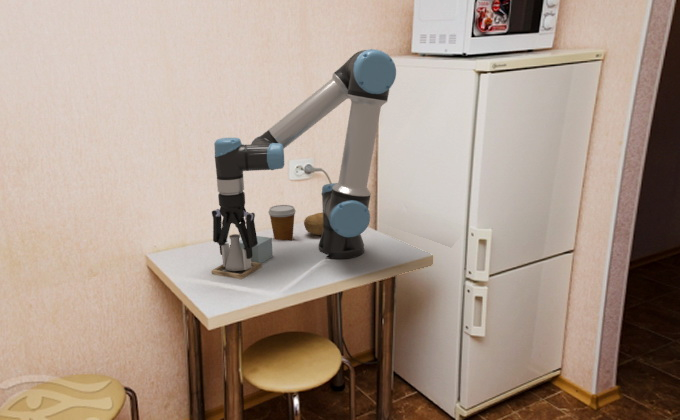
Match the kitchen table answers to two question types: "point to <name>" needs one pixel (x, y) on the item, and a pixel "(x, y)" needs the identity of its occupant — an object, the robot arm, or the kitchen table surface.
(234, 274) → the board
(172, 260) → the kitchen table surface
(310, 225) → the potato
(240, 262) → the flask
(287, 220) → the disposable coffee cup
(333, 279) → the kitchen table surface
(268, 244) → the pale blue block
